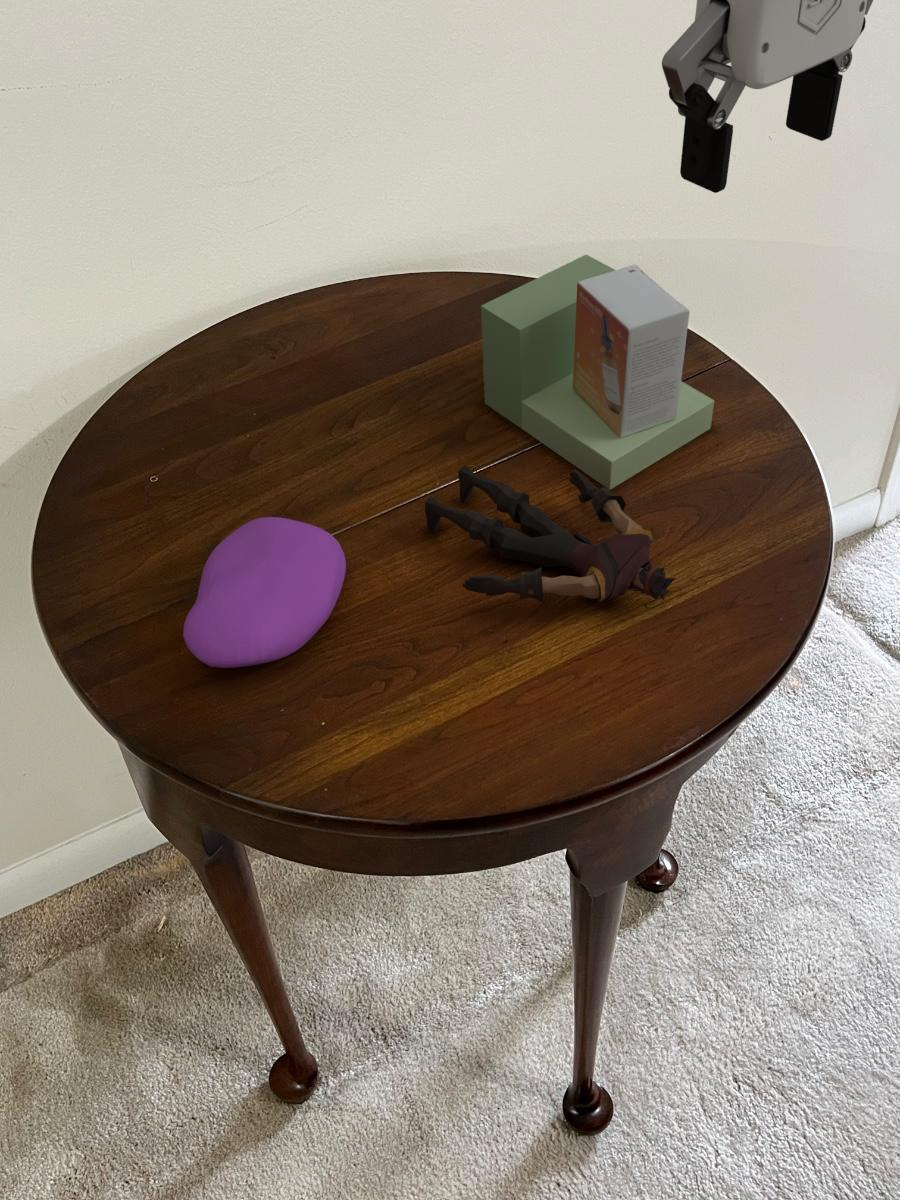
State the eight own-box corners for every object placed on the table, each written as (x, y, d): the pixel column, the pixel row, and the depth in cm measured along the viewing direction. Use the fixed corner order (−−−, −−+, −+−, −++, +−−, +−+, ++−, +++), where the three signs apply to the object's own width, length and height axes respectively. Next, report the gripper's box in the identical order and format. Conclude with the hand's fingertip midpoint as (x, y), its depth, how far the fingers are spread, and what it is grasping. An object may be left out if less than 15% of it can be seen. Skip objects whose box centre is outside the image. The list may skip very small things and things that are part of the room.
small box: (571, 389, 96) (574, 280, 89) (627, 370, 98) (635, 261, 90) (619, 440, 91) (627, 329, 84) (678, 420, 93) (691, 308, 85)
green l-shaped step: (710, 428, 96) (725, 328, 89) (609, 490, 92) (616, 389, 84) (582, 351, 106) (586, 254, 98) (484, 403, 101) (480, 305, 93)
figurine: (393, 578, 87) (619, 677, 78) (385, 537, 84) (619, 635, 75) (502, 472, 95) (718, 550, 86) (498, 432, 92) (722, 507, 83)
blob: (245, 711, 78) (231, 665, 74) (142, 641, 83) (124, 595, 79) (381, 590, 85) (374, 543, 82) (279, 533, 90) (268, 486, 87)
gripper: (745, -116, 52) (705, 228, 64) (968, -190, 59) (893, 133, 71) (630, -142, 56) (613, 184, 69) (850, -209, 63) (799, 99, 76)
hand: (756, 158), depth 70 cm, fingers open, 9 cm apart
